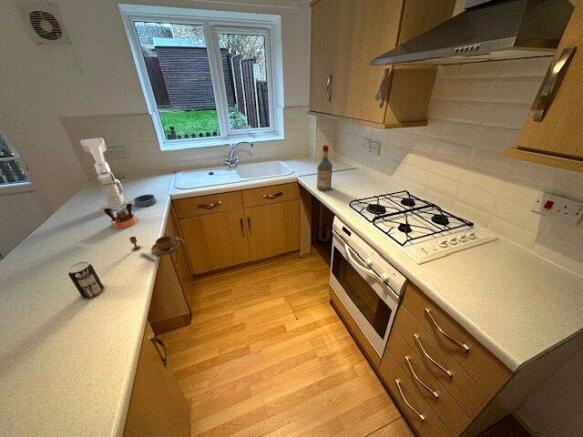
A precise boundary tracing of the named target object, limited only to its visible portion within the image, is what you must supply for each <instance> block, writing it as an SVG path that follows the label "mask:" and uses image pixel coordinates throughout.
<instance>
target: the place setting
mask: <svg viewBox="0 0 583 437" xmlns="http://www.w3.org/2000/svg"><path fill="white" fill-rule="evenodd" d="M137 240H138V239H137V237H136V236H134V235H133V236H130V237H129V241H130V243H131V244H132V245H133V246H134V247H133V249H132V250H133V251H138V250H140V249H141V246H139V245H138V244H137V242H138V241H137ZM181 241H182V242H183V243H185V244H188V242H187V241H185V240H184V239H182V238H181V237H180V236H175V238H173V237H172V236H171V235H164V236H161V237H158V238H157V239H156V240H155V243H154V244H153V245H152V246H151V248H150V251H151V252H152V254H154V255H155V256H165V255H166V256H167V255H170V254H172V253H174V252H175V251H177V250H178V249H179V247H180V245H181V243H180V242H181ZM140 256H142V257H144V258H145V257H146V258H147V259H149V260H150V261H152V262H155V259H153V258H151V257H150V256H148V255H147V254H146V253H144V252H141V253H140Z"/></svg>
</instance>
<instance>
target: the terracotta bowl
mask: <svg viewBox="0 0 583 437" xmlns="http://www.w3.org/2000/svg"><path fill="white" fill-rule="evenodd" d="M131 214H132V218H130V215H129V212H127V213H126V216H127V218H128V220H127V221H125V222H120V221H119V219H118V217H117V215H116V216H114V217H115V219H116V222H114V221H113V220H112V219H111V220H110V223H111V226H112V227H113V229H116V230H121V229H126V228H129V227H132V226H134V225H135V224H136V223H137V222H138V221H137V218H136V215H135V214H134V213H131Z"/></svg>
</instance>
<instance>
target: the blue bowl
mask: <svg viewBox="0 0 583 437" xmlns="http://www.w3.org/2000/svg"><path fill="white" fill-rule="evenodd" d="M132 200H133V202H134V206H135V207H137V208H146V207H149V206H152V205H154V204H155V203H156V202H157V200H156V196H155V195H154V194H151V193H150V194H149V193H148V194H142V195H139V196H136V197H135V198H133V199H132Z"/></svg>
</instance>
